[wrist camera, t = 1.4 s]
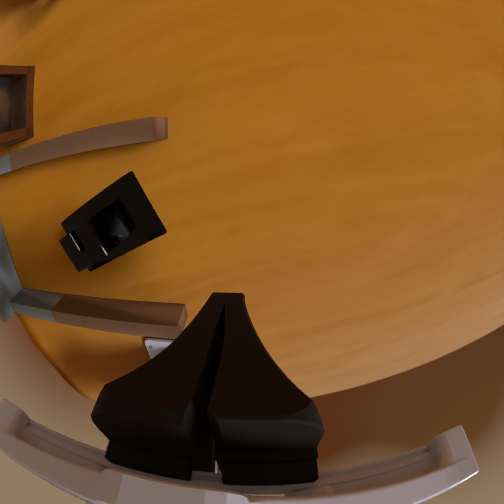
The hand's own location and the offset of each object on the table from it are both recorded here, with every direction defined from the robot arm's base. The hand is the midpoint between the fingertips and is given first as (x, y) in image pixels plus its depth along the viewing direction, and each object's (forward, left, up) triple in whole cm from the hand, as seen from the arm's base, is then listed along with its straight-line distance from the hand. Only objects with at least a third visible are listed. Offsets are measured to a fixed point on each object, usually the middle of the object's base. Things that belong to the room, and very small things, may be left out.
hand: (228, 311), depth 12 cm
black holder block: (0, +11, -10) cm, 15 cm away
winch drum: (+14, +21, -9) cm, 27 cm away
